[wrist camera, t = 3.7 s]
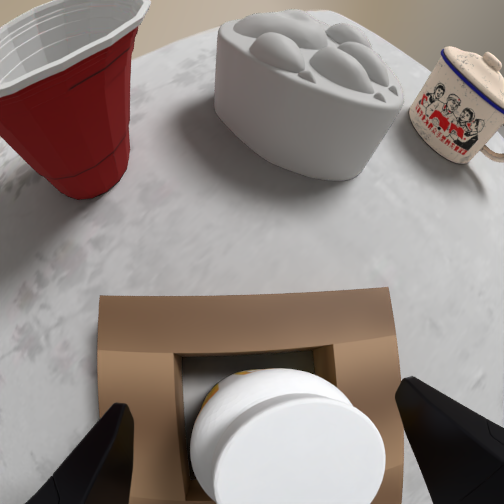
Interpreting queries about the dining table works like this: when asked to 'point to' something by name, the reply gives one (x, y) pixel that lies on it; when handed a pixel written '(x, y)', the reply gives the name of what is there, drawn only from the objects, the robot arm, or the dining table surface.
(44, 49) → the plastic cup
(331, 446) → the supplement bottle
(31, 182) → the dining table surface
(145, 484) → the bottle holder
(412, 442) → the robot arm
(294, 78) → the lumpy-topped squat cylinder
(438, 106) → the teacup with lid
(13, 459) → the dining table surface
